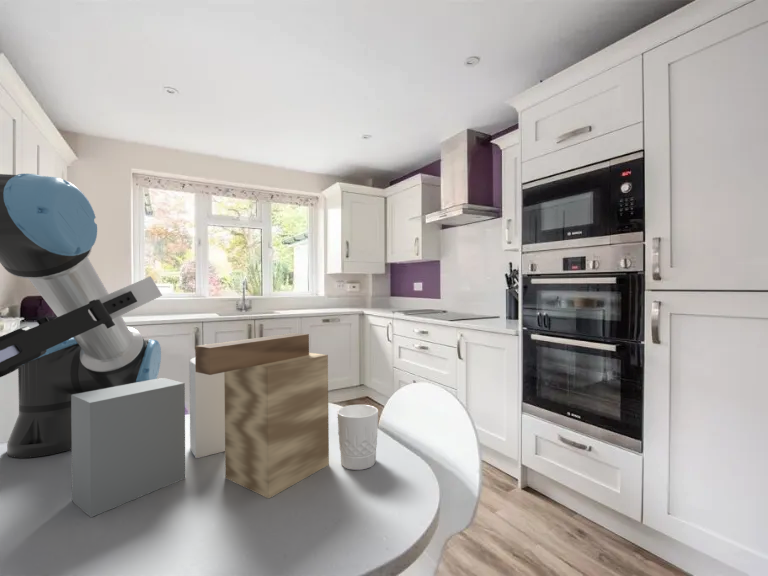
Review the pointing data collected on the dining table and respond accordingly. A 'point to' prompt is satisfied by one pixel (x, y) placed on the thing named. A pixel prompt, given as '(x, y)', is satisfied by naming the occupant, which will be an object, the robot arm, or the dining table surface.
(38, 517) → the dining table surface
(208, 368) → the bar
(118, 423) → the grey block
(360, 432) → the white cup
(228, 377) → the oak block
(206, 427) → the milk
